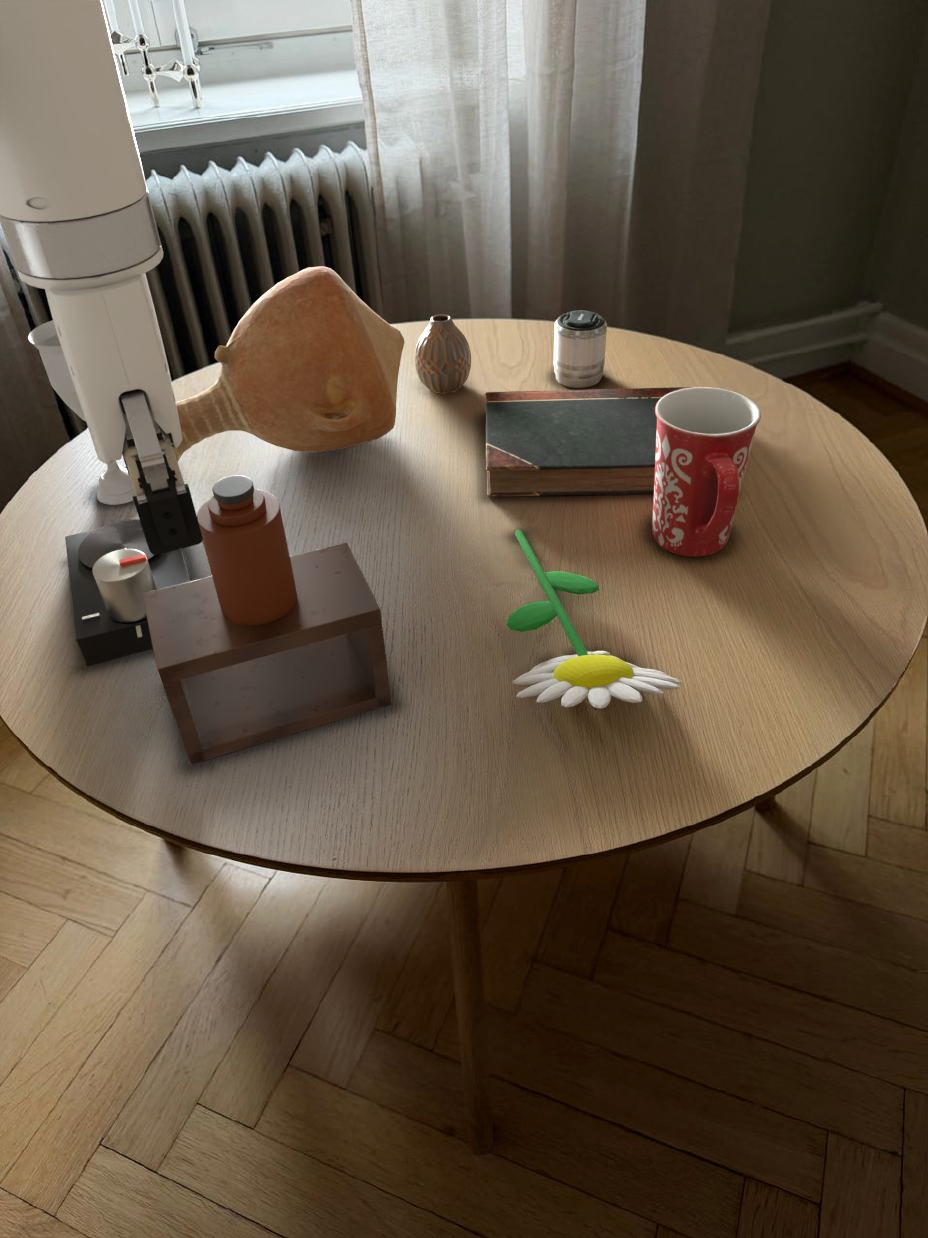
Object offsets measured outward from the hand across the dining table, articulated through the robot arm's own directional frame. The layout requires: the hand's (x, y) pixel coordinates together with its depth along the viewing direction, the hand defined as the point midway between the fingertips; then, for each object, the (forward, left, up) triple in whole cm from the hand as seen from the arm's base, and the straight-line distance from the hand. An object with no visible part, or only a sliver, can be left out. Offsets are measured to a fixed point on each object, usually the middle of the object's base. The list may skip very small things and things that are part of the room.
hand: (164, 506), depth 60 cm
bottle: (+5, +1, -10) cm, 11 cm away
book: (+46, +24, -20) cm, 55 cm away
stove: (-5, +19, -20) cm, 28 cm away
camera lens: (+52, +41, -20) cm, 69 cm away
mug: (+46, +5, -20) cm, 50 cm away
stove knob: (-5, +13, -17) cm, 22 cm away
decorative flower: (+28, -2, -20) cm, 35 cm away
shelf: (+5, +1, -20) cm, 21 cm away
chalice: (-4, +38, -20) cm, 43 cm away
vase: (+36, +46, -20) cm, 61 cm away
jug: (+14, +40, -20) cm, 47 cm away
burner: (-5, +23, -17) cm, 29 cm away
